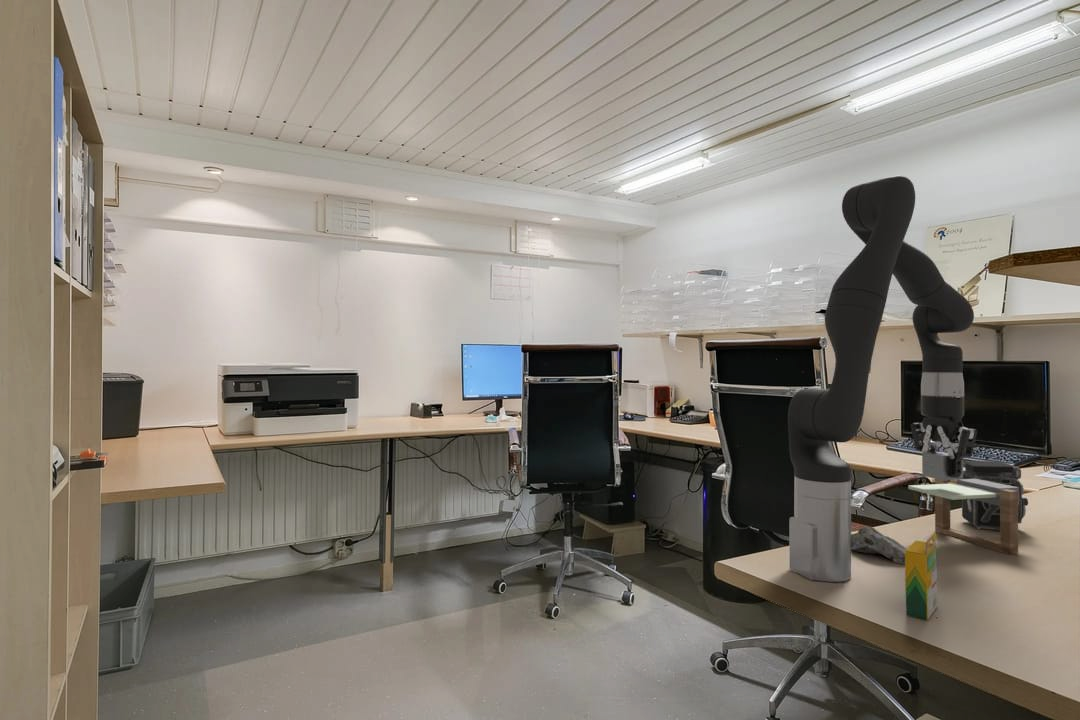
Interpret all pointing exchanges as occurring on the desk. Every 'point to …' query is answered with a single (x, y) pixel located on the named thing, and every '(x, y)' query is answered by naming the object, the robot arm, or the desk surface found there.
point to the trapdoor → (967, 490)
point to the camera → (986, 512)
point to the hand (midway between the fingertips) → (942, 474)
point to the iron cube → (937, 466)
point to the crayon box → (921, 579)
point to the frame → (1006, 537)
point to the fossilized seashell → (877, 544)
